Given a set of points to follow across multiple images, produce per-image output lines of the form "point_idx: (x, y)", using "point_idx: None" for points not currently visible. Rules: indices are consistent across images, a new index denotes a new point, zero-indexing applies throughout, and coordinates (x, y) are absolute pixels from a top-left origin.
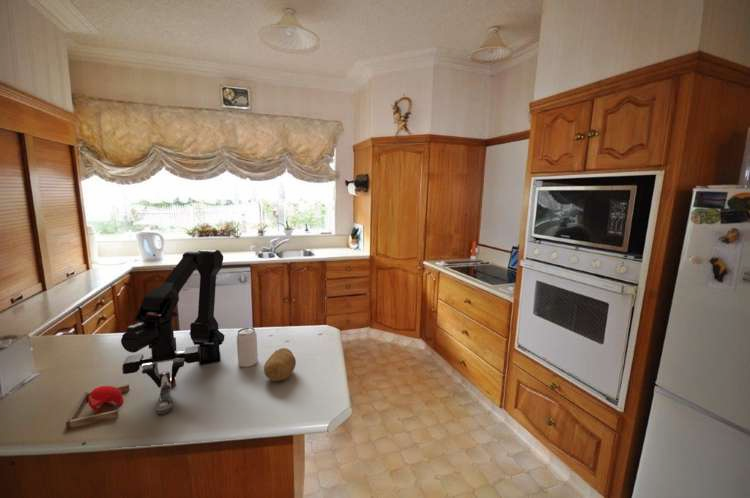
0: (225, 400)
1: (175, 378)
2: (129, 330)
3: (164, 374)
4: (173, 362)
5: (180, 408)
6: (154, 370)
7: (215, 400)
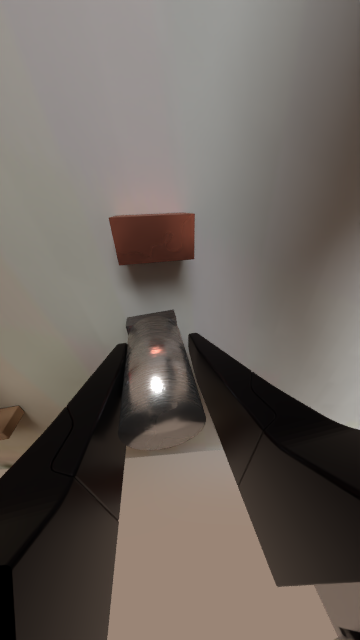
0: (314, 382)
1: (193, 237)
2: None
3: (167, 435)
4: (326, 585)
5: None
6: (102, 625)
7: (295, 379)
